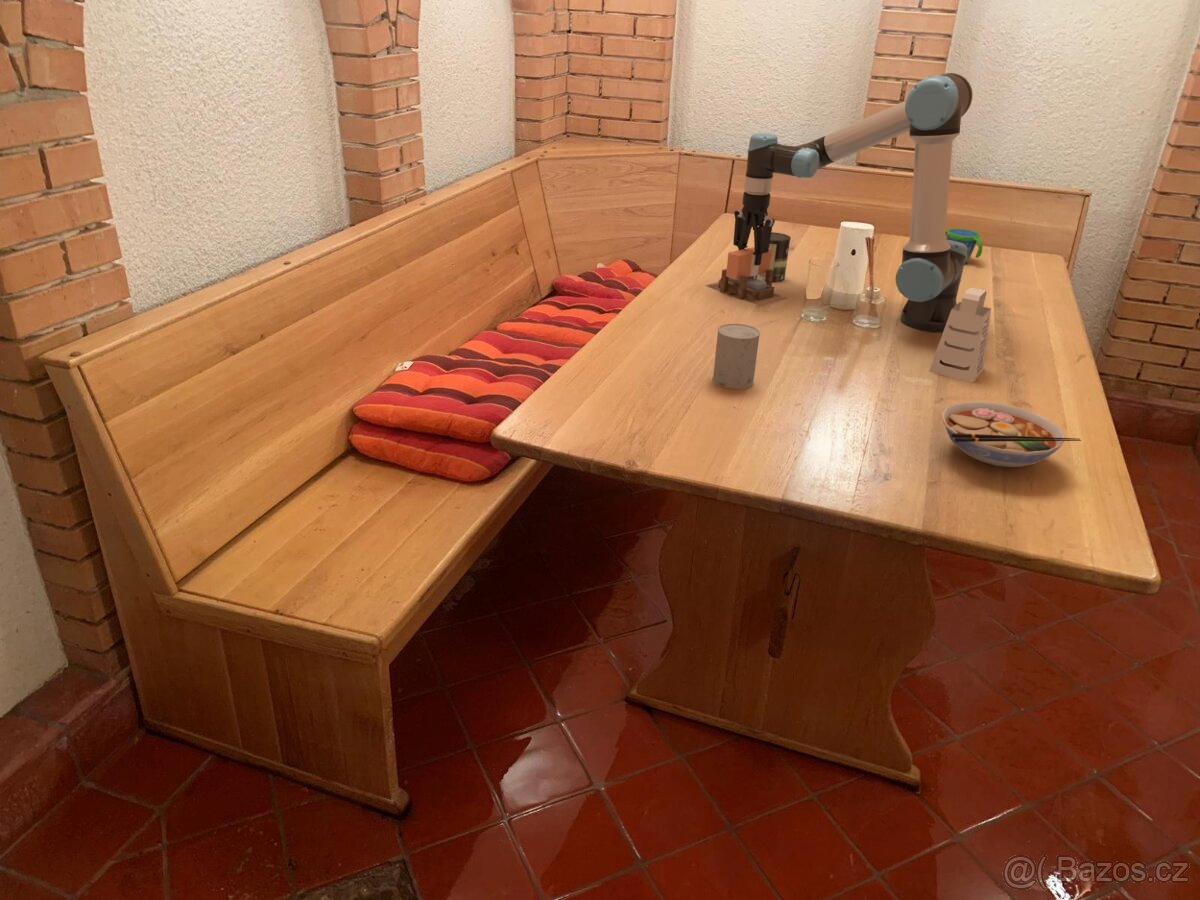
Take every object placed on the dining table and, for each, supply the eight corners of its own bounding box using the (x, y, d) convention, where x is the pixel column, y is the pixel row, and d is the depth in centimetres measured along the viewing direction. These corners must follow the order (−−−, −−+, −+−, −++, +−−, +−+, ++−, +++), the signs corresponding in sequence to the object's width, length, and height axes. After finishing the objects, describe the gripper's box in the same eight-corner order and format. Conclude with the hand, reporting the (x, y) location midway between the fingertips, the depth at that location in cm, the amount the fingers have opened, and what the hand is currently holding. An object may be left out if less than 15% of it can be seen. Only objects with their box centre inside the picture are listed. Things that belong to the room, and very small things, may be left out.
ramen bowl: (1028, 433, 193) (1038, 398, 189) (1082, 487, 172) (1095, 449, 169) (912, 431, 191) (920, 395, 188) (953, 485, 171) (963, 447, 167)
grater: (983, 369, 224) (1003, 290, 215) (972, 382, 216) (993, 301, 207) (941, 358, 229) (958, 281, 220) (928, 371, 221) (946, 292, 212)
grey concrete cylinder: (721, 390, 206) (727, 339, 200) (706, 374, 214) (711, 324, 209) (760, 387, 209) (767, 337, 203) (743, 371, 217) (749, 322, 211)
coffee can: (781, 276, 287) (787, 232, 280) (787, 286, 278) (793, 241, 271) (749, 275, 287) (754, 231, 280) (753, 285, 278) (758, 239, 271)
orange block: (768, 272, 268) (771, 248, 265) (736, 279, 260) (738, 255, 257) (758, 268, 271) (761, 245, 268) (725, 276, 263) (728, 252, 260)
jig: (787, 301, 265) (791, 276, 261) (758, 309, 257) (761, 283, 254) (732, 282, 280) (735, 257, 276) (703, 289, 272) (705, 264, 269)
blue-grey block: (765, 295, 265) (767, 282, 263) (756, 298, 263) (757, 284, 261) (735, 285, 273) (736, 272, 271) (726, 287, 271) (727, 274, 269)
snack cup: (985, 266, 307) (993, 236, 302) (963, 269, 302) (970, 239, 298) (950, 254, 319) (956, 225, 314) (928, 257, 314) (934, 228, 310)
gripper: (789, 196, 251) (778, 278, 262) (743, 185, 262) (734, 264, 273) (771, 199, 247) (761, 283, 257) (725, 187, 258) (717, 268, 269)
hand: (747, 273), depth 265 cm, fingers closed on orange block, 4 cm apart
